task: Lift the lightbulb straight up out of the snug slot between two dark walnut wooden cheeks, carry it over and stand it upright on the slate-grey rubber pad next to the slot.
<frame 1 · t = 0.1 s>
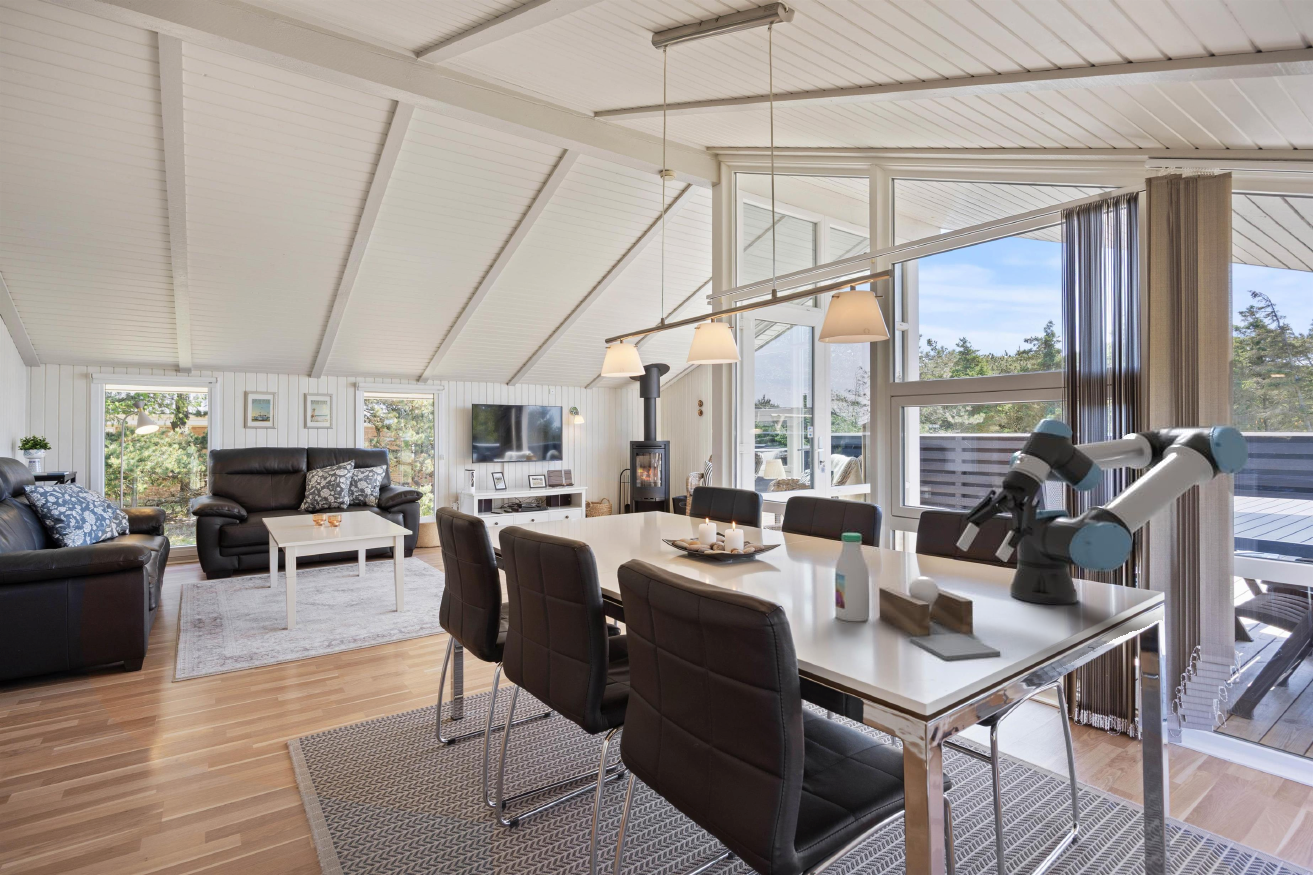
hand: (980, 553, 154), 15 cm above the table, tool tilted 35°, fingers open, 13 cm apart
milk bottle: (852, 618, 157), on the table
walnut slot: (924, 624, 151), on the table
grey pad: (953, 647, 134), on the table
lightbulb: (924, 625, 151), on the table
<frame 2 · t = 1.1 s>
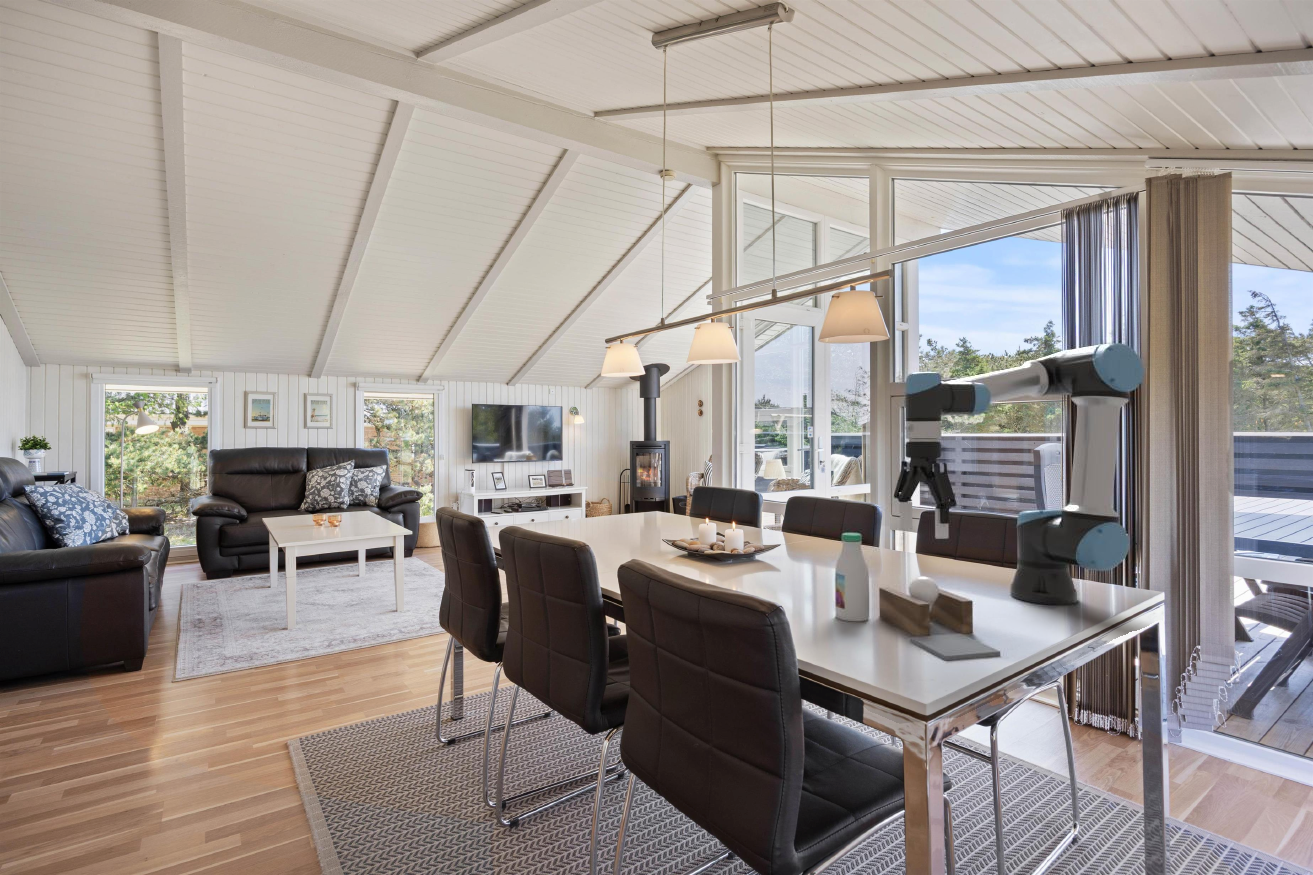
hand: (923, 533, 151), 21 cm above the table, tool pointing down, fingers open, 13 cm apart
nothing on the table moved.
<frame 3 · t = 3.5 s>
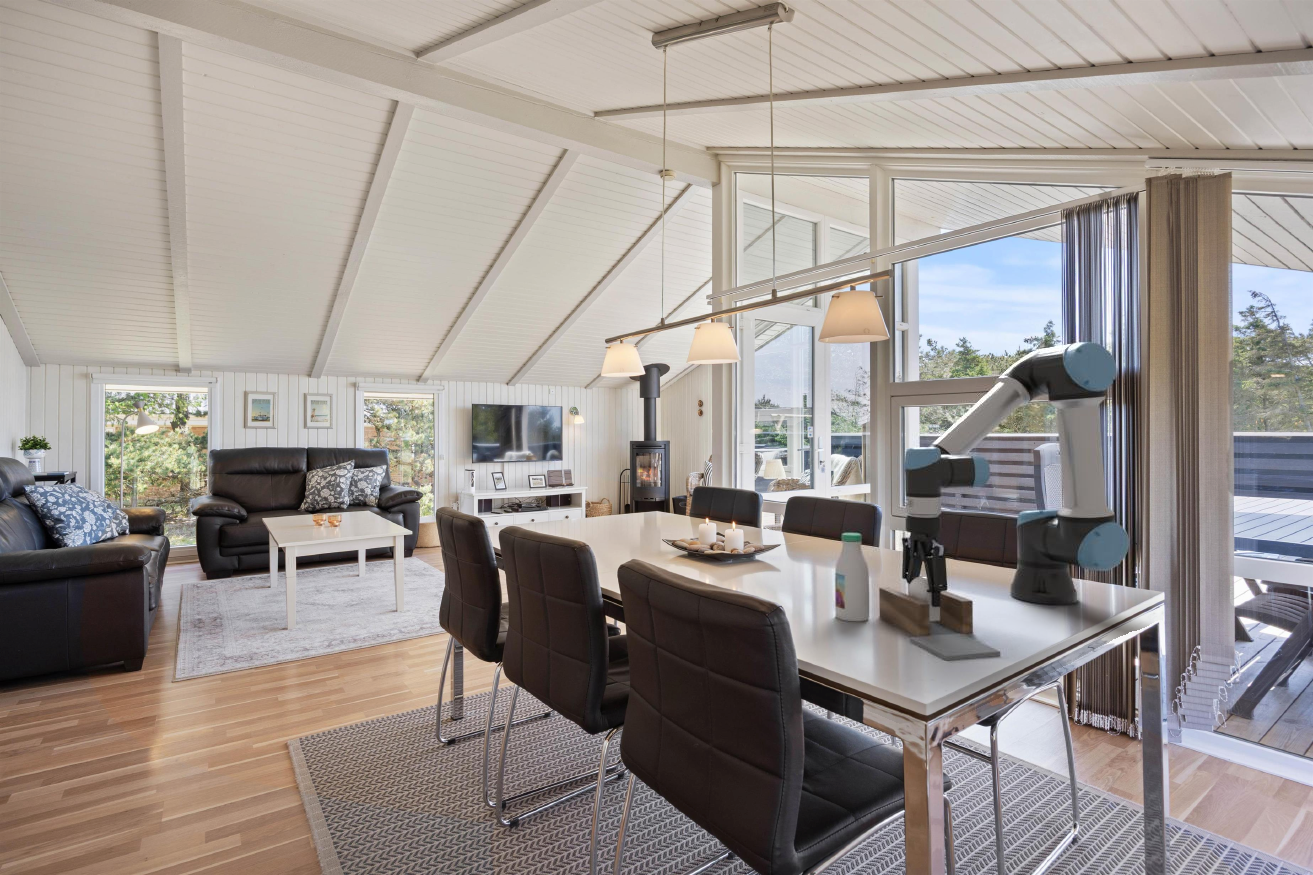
hand: (924, 615, 151), 2 cm above the table, tool pointing down, fingers closed on lightbulb, 6 cm apart
lightbulb: (924, 625, 151), on the table, touching gripper
everything else where it was.
when the fingers open (4 cm above the table, at t = 10.9 s): lightbulb drops 2 cm, resting on grey pad.
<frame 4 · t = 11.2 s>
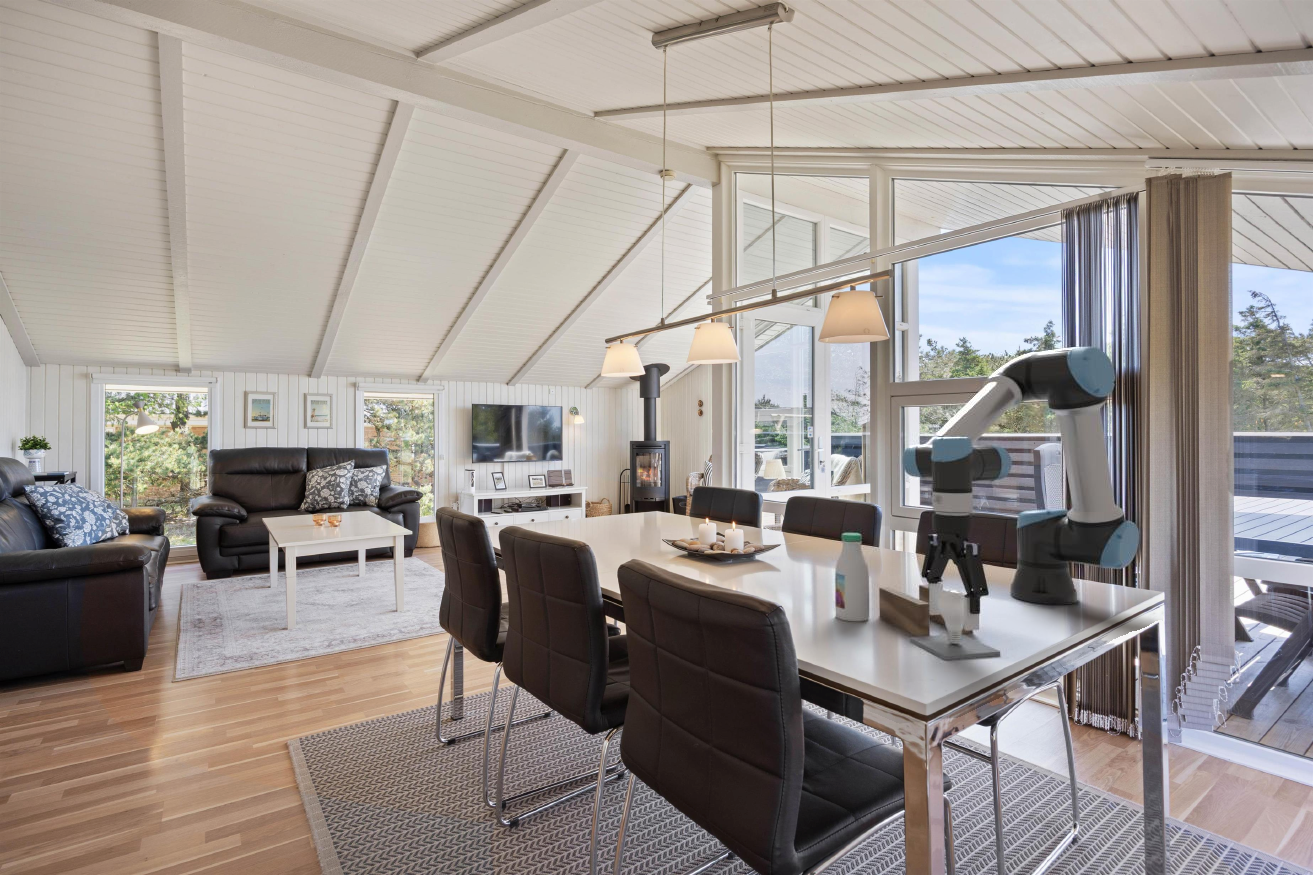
hand: (953, 621, 134), 5 cm above the table, tool pointing down, fingers open, 10 cm apart
lightbulb: (954, 645, 134), point 1 cm above the table, touching grey pad
everything else where it was.
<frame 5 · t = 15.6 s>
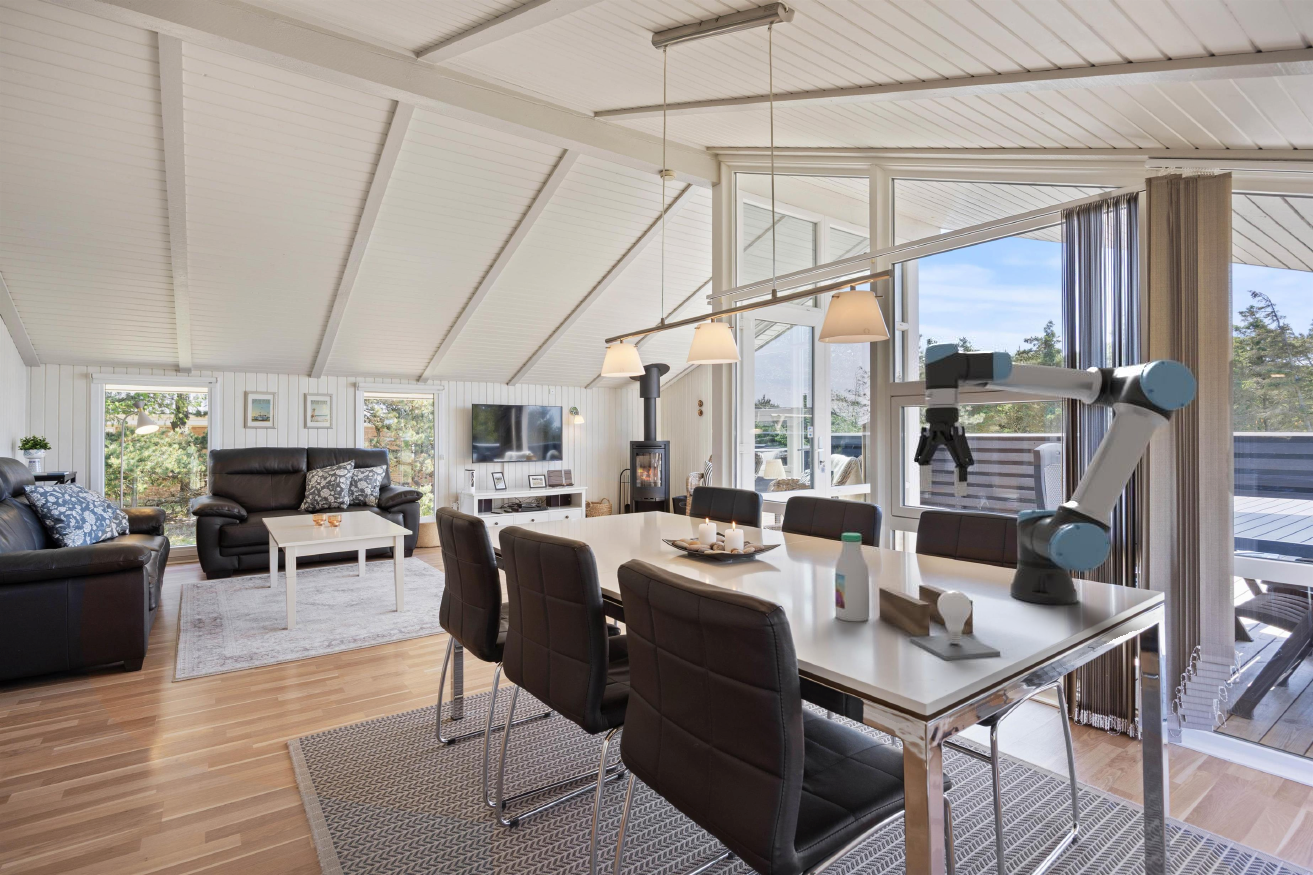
hand: (942, 493, 163), 29 cm above the table, tool pointing down, fingers open, 13 cm apart
nothing on the table moved.
at the end: lightbulb inside the target area (0.3 cm from its centre), point 0.6 cm above the table; lightbulb tilted 0°; milk bottle moved 0.2 cm from its start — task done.
